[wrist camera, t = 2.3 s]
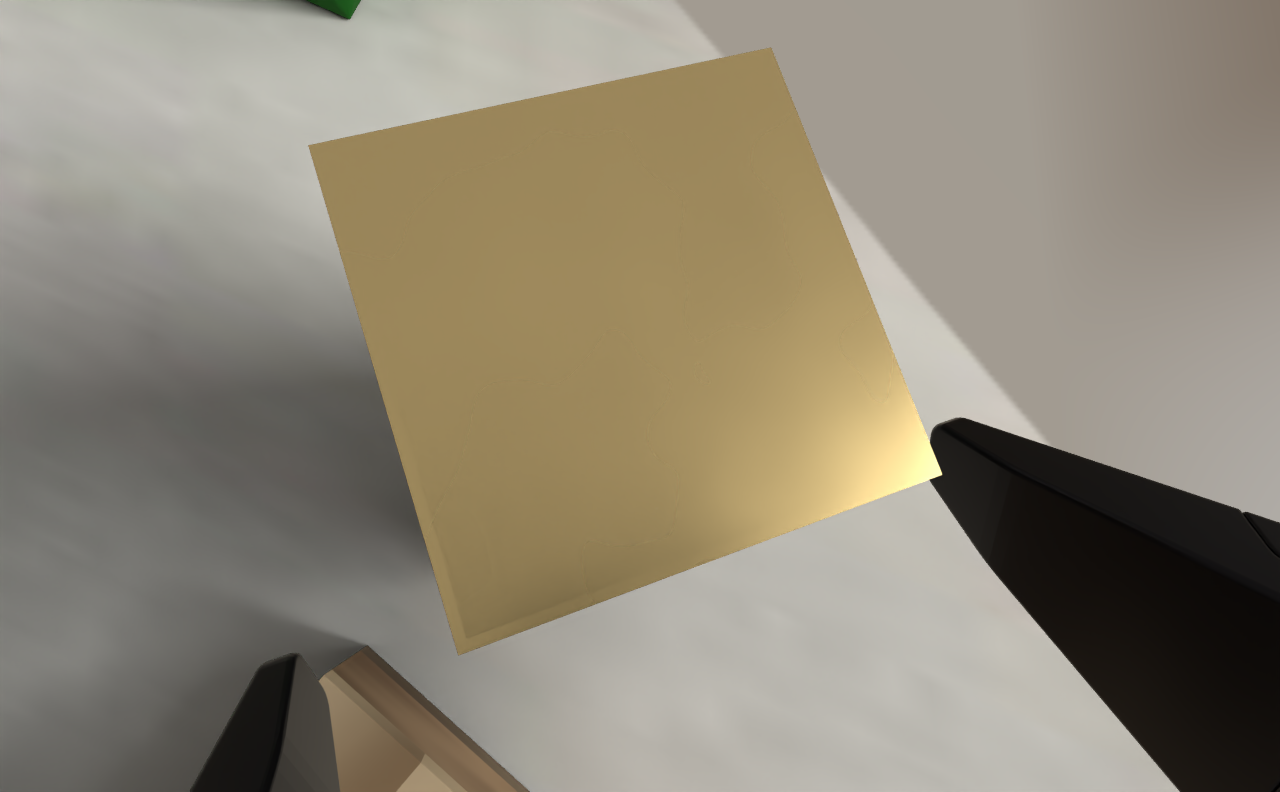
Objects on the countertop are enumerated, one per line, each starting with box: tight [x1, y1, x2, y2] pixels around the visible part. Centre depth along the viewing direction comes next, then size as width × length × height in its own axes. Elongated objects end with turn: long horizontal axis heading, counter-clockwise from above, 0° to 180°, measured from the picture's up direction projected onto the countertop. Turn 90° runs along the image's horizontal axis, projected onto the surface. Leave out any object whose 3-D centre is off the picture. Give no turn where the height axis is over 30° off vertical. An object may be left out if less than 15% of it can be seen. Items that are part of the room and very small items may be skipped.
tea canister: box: [308, 48, 942, 655], centre depth 13 cm, size 5×5×13 cm
